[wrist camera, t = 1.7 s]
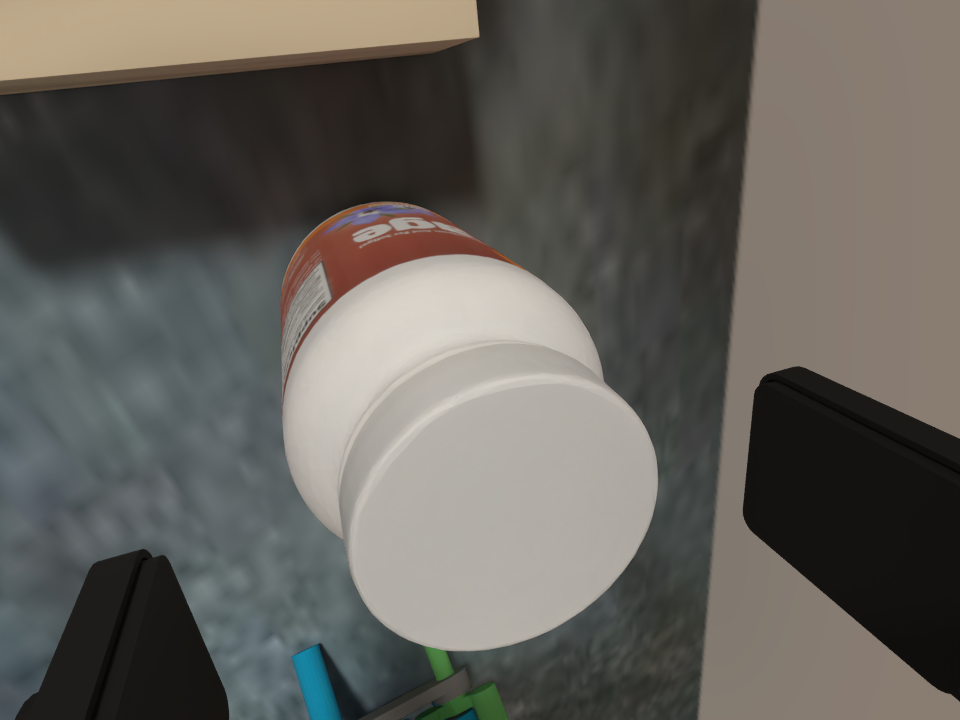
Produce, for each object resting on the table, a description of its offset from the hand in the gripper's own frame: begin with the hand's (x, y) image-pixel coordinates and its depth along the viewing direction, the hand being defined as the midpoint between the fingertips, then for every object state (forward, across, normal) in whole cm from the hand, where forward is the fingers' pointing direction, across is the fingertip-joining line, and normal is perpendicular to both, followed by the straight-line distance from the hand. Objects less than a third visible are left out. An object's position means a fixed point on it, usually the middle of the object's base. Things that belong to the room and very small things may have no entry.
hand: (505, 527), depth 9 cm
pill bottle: (+11, 0, -1) cm, 11 cm away
